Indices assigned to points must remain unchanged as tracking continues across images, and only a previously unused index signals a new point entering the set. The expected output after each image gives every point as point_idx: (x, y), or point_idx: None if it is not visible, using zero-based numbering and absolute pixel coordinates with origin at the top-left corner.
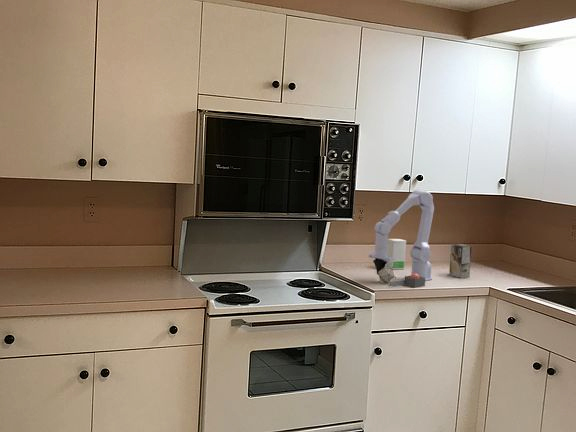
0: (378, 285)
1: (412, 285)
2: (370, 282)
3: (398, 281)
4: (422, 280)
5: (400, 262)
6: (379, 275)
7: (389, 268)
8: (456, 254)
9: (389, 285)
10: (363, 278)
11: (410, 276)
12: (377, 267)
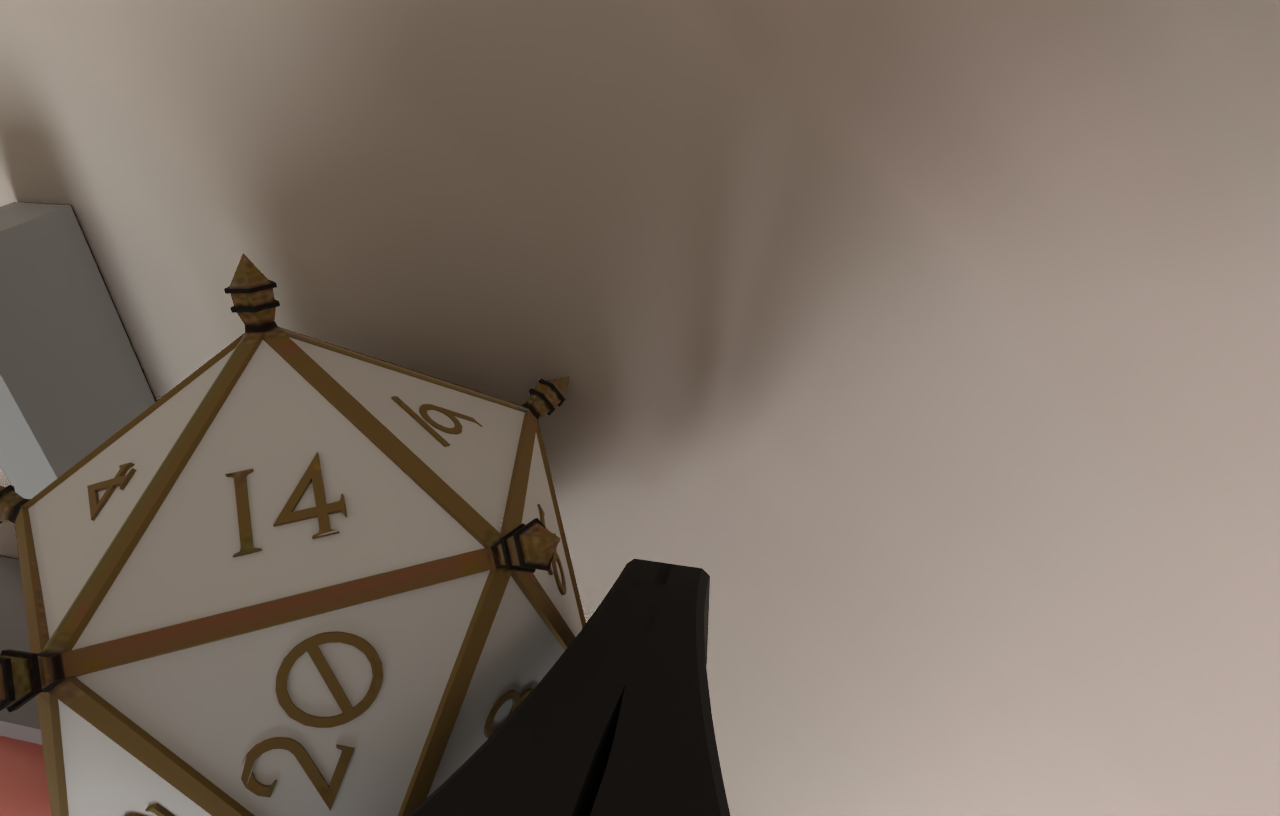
0: (200, 6)
1: (20, 582)
2: (640, 82)
3: (35, 492)
4: None
5: None
6: (398, 421)
7: (55, 803)
8: None
9: (27, 213)
10: (1244, 331)
11: (22, 773)
12: (584, 778)
